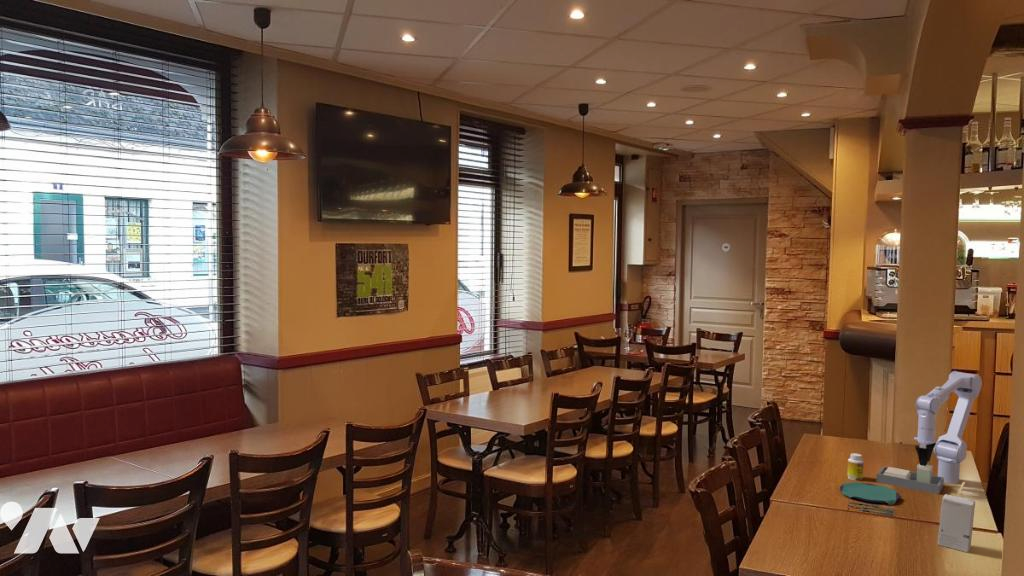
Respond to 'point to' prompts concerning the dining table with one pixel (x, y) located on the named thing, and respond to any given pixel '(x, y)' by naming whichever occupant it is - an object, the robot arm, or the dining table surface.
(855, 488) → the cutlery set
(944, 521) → the skincare box
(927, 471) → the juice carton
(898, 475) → the beige flat block
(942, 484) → the tote
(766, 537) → the dining table surface
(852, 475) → the supplement bottle
